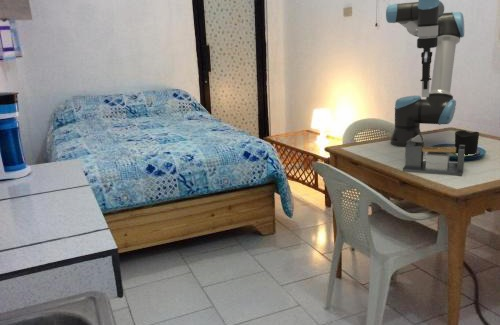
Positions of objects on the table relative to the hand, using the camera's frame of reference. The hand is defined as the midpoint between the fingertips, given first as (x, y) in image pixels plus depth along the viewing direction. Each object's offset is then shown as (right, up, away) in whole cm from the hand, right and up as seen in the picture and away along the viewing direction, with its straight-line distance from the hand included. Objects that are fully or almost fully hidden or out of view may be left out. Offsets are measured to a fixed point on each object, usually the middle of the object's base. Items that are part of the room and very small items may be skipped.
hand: (425, 96), depth 179 cm
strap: (+3, -22, -2) cm, 23 cm away
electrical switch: (+3, -24, +18) cm, 31 cm away
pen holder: (+24, -24, +15) cm, 37 cm away
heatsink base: (+3, -30, 0) cm, 30 cm away
